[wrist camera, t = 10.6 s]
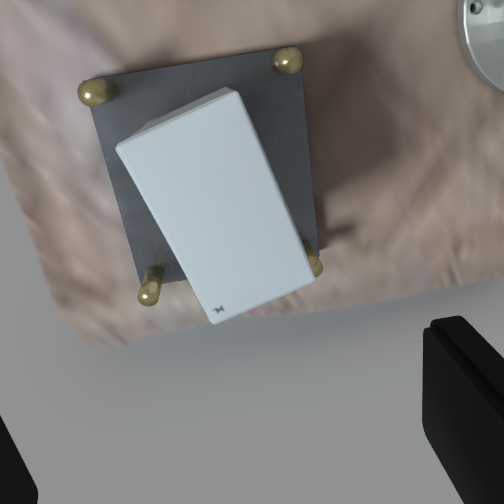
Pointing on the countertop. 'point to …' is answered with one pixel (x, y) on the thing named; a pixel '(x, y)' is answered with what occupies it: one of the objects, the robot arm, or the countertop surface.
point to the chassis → (180, 94)
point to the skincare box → (218, 204)
